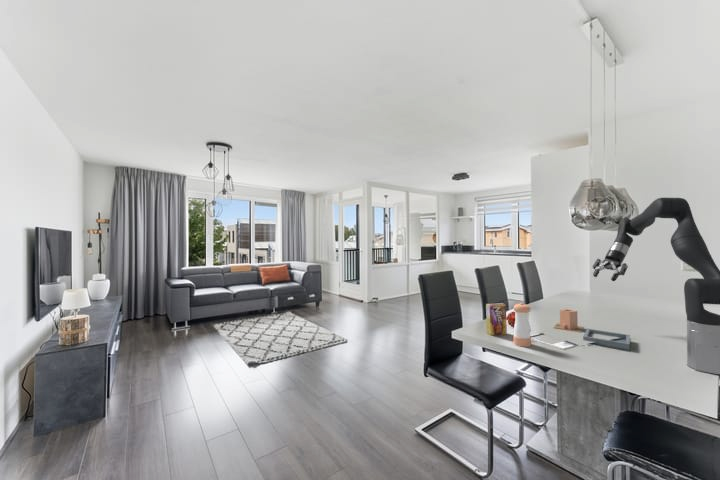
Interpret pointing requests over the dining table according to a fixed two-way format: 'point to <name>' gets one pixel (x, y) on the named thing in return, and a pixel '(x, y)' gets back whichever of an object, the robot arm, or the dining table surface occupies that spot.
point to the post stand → (569, 329)
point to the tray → (617, 343)
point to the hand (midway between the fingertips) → (603, 278)
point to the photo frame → (559, 345)
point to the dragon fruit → (511, 318)
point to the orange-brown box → (568, 319)
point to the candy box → (496, 319)
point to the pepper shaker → (522, 325)
